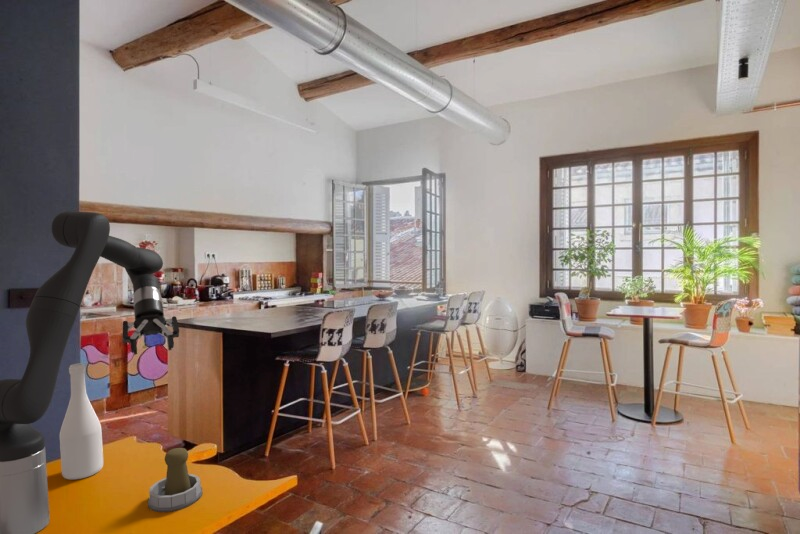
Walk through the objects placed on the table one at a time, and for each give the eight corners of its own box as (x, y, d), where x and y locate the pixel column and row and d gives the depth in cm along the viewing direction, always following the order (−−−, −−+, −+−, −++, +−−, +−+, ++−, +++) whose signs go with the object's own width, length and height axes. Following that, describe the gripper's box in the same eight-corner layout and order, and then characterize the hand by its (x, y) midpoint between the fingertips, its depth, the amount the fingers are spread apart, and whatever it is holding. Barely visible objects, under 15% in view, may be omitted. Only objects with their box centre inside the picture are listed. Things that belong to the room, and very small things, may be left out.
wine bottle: (108, 471, 130) (102, 364, 129) (66, 484, 123) (59, 371, 122) (98, 461, 137) (92, 358, 135) (58, 473, 130) (51, 365, 128)
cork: (181, 501, 113) (179, 456, 112) (158, 499, 114) (156, 454, 113) (196, 488, 119) (194, 445, 118) (175, 486, 120) (173, 444, 119)
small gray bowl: (150, 518, 108) (149, 503, 107) (146, 494, 118) (145, 481, 118) (206, 501, 114) (205, 488, 114) (198, 480, 124) (197, 468, 124)
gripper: (120, 299, 134) (123, 346, 125) (175, 295, 142) (182, 339, 133) (120, 315, 139) (123, 362, 130) (174, 311, 147) (180, 354, 138)
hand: (153, 350), depth 131 cm, fingers open, 8 cm apart
